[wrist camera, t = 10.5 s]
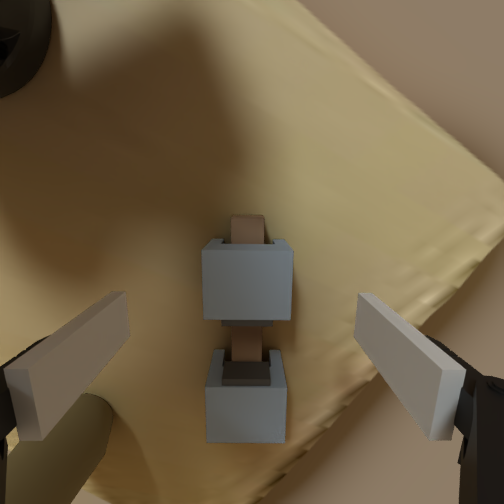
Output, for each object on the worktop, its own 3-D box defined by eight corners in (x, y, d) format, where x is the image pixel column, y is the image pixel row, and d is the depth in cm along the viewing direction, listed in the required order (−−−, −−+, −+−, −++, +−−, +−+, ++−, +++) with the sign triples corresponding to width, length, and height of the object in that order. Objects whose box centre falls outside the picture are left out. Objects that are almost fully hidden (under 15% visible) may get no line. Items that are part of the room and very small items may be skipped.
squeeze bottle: (110, 449, 33) (-54, 743, 15) (47, 426, 32) (-201, 706, 14) (132, 399, 31) (-21, 660, 14) (67, 374, 31) (-184, 614, 13)
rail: (233, 214, 27) (230, 217, 23) (262, 215, 27) (264, 217, 23) (234, 399, 31) (232, 424, 28) (259, 400, 31) (260, 425, 28)
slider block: (278, 396, 31) (284, 443, 25) (215, 395, 31) (206, 442, 25) (280, 344, 29) (287, 381, 23) (214, 343, 29) (204, 380, 23)
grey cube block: (212, 238, 27) (201, 250, 21) (284, 239, 27) (293, 250, 21) (213, 300, 28) (203, 327, 22) (282, 300, 28) (290, 327, 22)
